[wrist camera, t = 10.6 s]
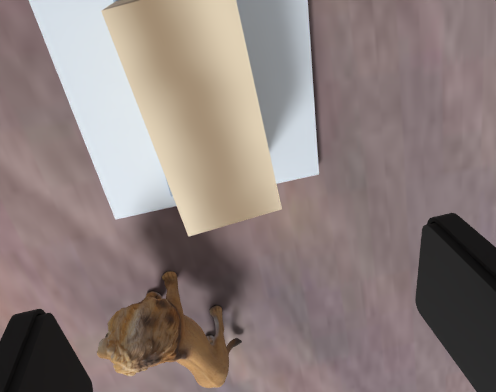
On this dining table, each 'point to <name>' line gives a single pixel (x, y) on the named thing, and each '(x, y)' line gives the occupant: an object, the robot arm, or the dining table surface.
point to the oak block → (198, 106)
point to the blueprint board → (127, 111)
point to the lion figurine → (166, 338)
